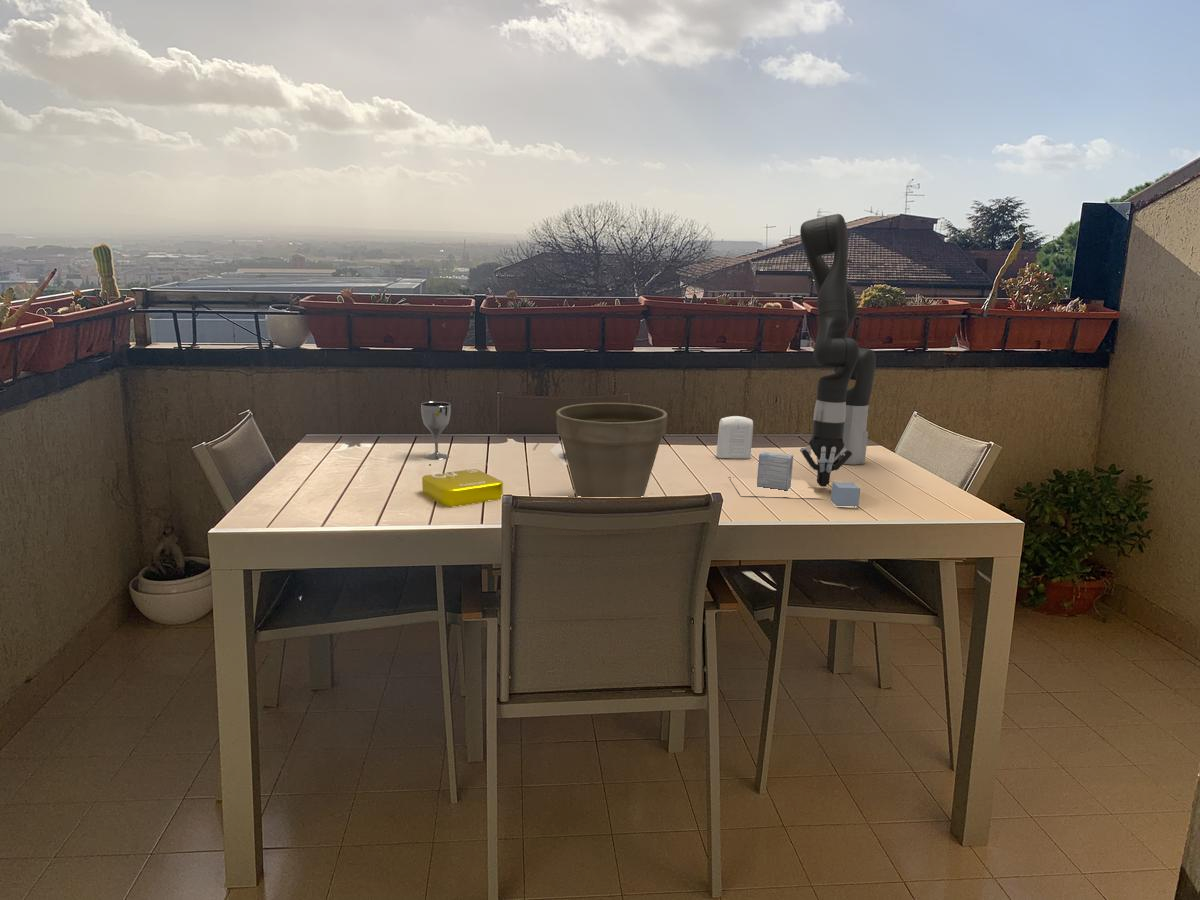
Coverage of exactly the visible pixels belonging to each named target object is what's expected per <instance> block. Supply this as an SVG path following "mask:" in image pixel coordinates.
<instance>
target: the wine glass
mask: <svg viewBox="0 0 1200 900" xmlns="http://www.w3.org/2000/svg"><path fill="white" fill-rule="evenodd" d="M420 406H421V407H420V413H421V418H422V422H423V425H424V426H425V427H426V428H427V429H428V431H430V433H431V435H432V436H433V440H434V441H433V442H434V452H433V453H429V454H425V455H424V456H423V458H424V459H426V460H434V461H438V460H439V461H441V460H447V459H449V458H450V455H449V454H445V453H440V452H439V438H440V436H441V434H442V432H443V431H444V429H445V428H446V427H448V425H449V423H450V419H451V410H452V409H451V403H450V402H447V401H425V402H422V403H421V404H420Z"/></svg>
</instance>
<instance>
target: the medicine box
mask: <svg viewBox="0 0 1200 900" xmlns="http://www.w3.org/2000/svg"><path fill="white" fill-rule="evenodd" d="M793 463H794V454H790V453H783V452H775V451H774V452H773V451H766V450H763V451H762V452H761V453H759V454H758V463H757V476H756V478H757V487H763V488H770V489H778V490H784V491H788V489H789V488H790V487H791V479H793V478H792V475H793V467H794V466H793Z"/></svg>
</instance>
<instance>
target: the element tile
mask: <svg viewBox="0 0 1200 900" xmlns="http://www.w3.org/2000/svg"><path fill="white" fill-rule="evenodd" d="M421 482H422V489H421V490H422V494H423V495H424V496H426V497H427V498H429V499H431V500H432V501H434V502H436V503H437V502H438V505H441V506H442V505H443V506H442V507H445V506H448V507H447V508H453V507H452V506H457V507H460V506H459V505H463V506H467V505H466V504H469V505H473V504H472V503H475V504H479V503H478V502H482V503H485V502H484V501H488V500H494V501H500V500H502V499H501V495H502V494H503V495H504V481H502V480H500V479H499V478H496V477H494V476H492V475H490V474H488V473H486V472H484V471H482V470H480V469H477V468H471V469H463V470H456V471H449V472H436V473H435V472H434V473H432V474H426V475H422V478H421ZM498 499H499V500H498ZM488 502H489V501H488Z"/></svg>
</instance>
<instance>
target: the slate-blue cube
mask: <svg viewBox="0 0 1200 900" xmlns="http://www.w3.org/2000/svg"><path fill="white" fill-rule="evenodd" d="M860 494H861V488H860V486H858V485H857V484H856V483H854V482H847V481H844V482H842V481H832V485H831V494H830V502H831V501H832V502H833V503H834V504H835V505H836V506H854V507H855V506H858V507H859V503H860V502H859V501H860Z"/></svg>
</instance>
